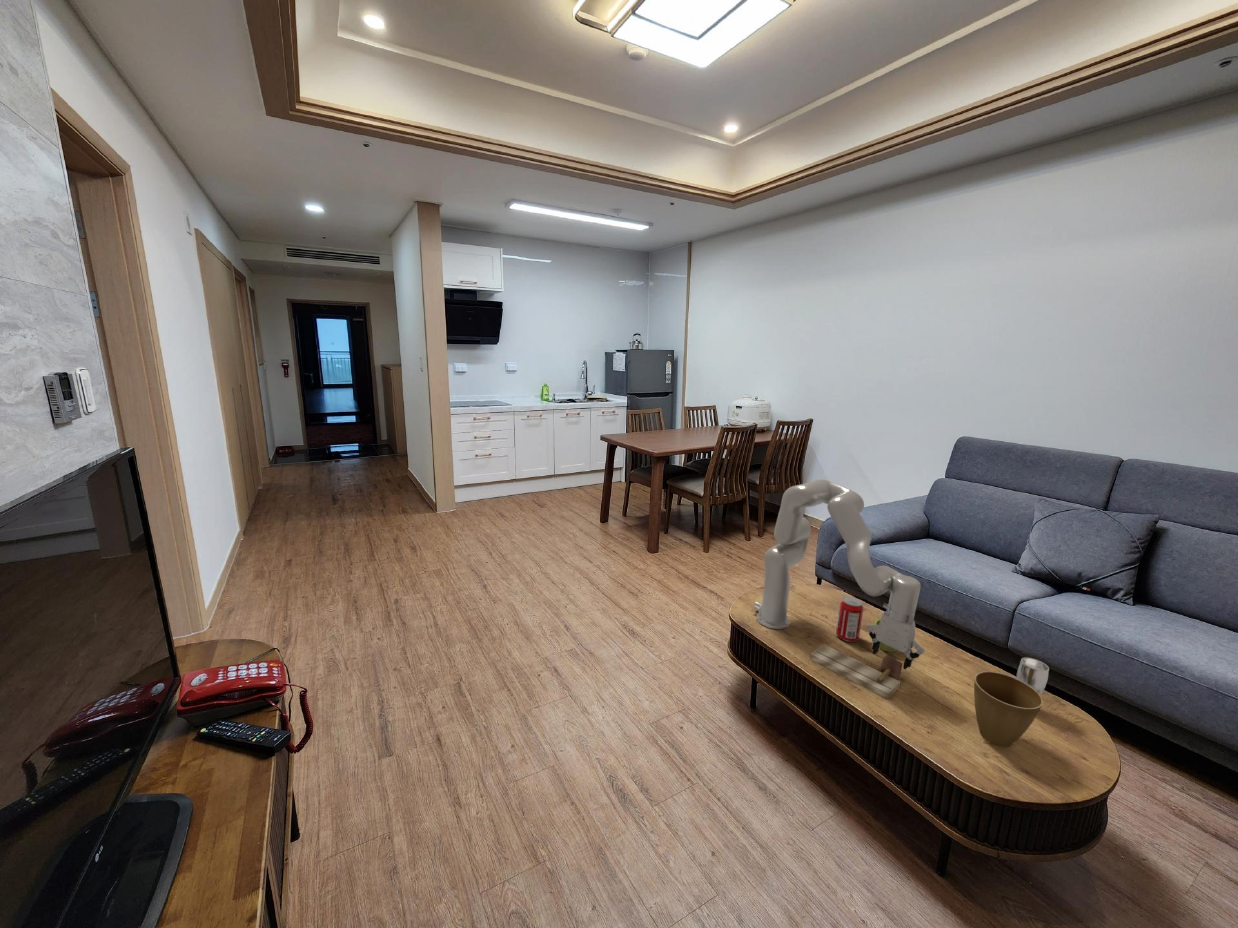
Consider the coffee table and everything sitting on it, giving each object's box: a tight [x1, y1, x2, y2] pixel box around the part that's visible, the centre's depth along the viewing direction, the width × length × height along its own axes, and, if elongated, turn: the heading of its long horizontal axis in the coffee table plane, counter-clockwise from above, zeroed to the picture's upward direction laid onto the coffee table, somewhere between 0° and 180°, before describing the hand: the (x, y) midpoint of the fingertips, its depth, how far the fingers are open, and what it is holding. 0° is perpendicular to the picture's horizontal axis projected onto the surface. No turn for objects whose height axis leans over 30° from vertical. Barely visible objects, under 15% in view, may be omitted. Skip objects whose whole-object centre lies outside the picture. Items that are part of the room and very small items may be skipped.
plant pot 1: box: [874, 618, 897, 653], centre depth 180 cm, size 9×9×9 cm
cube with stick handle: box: [877, 655, 904, 683], centre depth 161 cm, size 5×11×6 cm, turn 130°
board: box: [809, 643, 901, 700], centre depth 166 cm, size 26×9×2 cm, turn 40°
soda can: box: [835, 596, 865, 643], centre depth 185 cm, size 8×8×15 cm
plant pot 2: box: [973, 670, 1044, 748], centre depth 137 cm, size 15×15×16 cm
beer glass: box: [1015, 657, 1050, 697], centre depth 150 cm, size 7×7×15 cm
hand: (890, 659), depth 163 cm, fingers open, 9 cm apart
